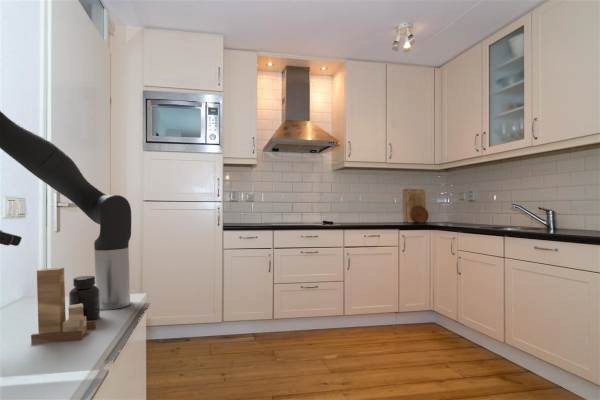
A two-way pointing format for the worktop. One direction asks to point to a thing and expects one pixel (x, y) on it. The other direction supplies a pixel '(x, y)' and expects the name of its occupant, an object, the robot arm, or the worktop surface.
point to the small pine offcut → (75, 312)
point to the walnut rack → (63, 335)
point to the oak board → (51, 300)
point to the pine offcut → (75, 326)
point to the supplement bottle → (86, 297)
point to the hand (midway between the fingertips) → (16, 241)
